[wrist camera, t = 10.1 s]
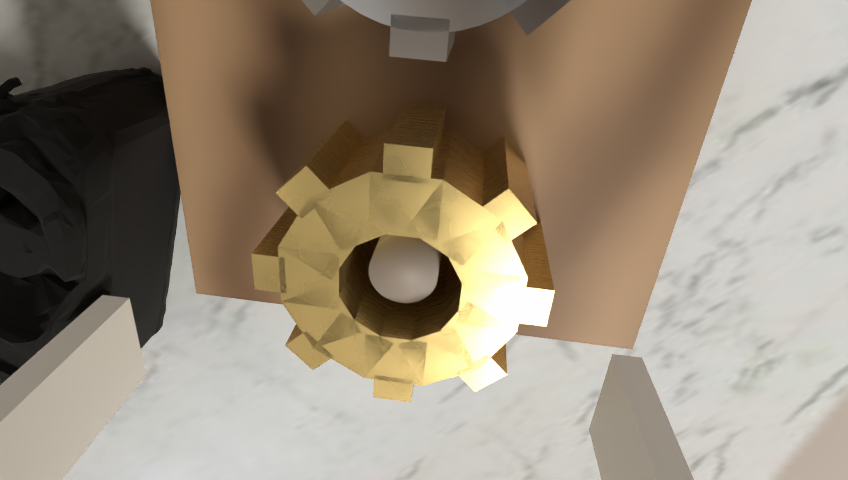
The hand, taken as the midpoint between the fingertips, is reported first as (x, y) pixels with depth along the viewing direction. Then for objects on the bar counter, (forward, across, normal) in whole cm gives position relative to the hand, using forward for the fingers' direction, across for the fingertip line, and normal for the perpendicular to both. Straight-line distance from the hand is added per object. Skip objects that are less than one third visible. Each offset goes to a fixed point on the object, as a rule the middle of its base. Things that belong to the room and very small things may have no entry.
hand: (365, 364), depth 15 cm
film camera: (+10, -15, -1) cm, 18 cm away
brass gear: (+8, +1, 0) cm, 8 cm away
